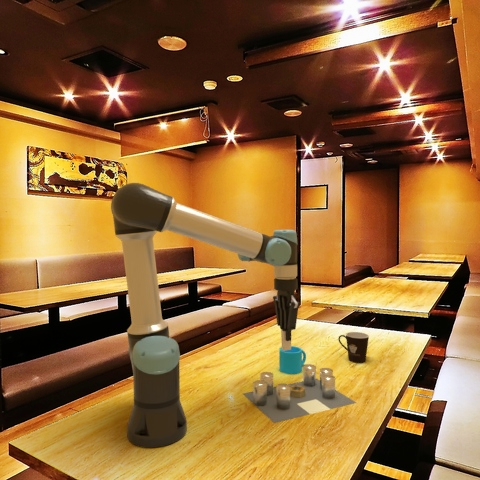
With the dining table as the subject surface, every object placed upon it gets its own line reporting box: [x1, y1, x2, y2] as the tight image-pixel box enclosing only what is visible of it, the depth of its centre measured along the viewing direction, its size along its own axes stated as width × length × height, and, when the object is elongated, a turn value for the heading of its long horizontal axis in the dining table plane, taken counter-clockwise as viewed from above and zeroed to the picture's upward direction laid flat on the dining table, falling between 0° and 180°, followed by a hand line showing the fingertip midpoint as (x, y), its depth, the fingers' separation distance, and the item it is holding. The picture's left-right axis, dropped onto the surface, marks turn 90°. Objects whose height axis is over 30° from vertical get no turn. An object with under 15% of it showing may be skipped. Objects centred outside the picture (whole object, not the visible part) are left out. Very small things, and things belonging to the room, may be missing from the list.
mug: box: [278, 345, 307, 375], centre depth 144 cm, size 12×8×8 cm
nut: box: [290, 385, 305, 398], centre depth 122 cm, size 5×4×2 cm
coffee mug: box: [337, 331, 370, 364], centre depth 155 cm, size 12×9×10 cm
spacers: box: [252, 363, 336, 410], centre depth 121 cm, size 28×14×6 cm, turn 115°
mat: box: [242, 378, 357, 424], centre depth 120 cm, size 28×20×1 cm
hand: (286, 349), depth 128 cm, fingers closed
